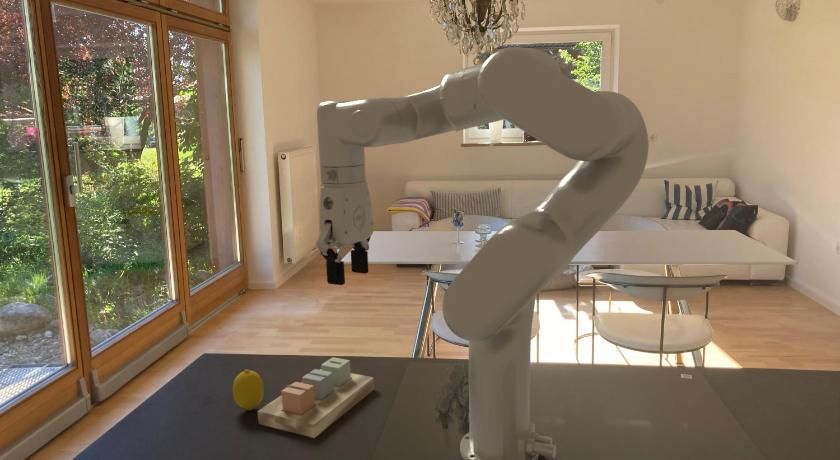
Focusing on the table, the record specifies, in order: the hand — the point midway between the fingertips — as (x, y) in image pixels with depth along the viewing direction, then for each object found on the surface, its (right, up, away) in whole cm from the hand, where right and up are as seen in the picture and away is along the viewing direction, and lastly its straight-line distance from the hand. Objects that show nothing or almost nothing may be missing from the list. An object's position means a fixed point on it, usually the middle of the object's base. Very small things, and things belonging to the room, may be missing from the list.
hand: (348, 277), depth 111 cm
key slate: (-7, -23, +8) cm, 25 cm away
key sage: (-4, -22, +14) cm, 26 cm away
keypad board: (-6, -25, +9) cm, 27 cm away
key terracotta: (-9, -24, +3) cm, 26 cm away
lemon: (-19, -25, +8) cm, 33 cm away
